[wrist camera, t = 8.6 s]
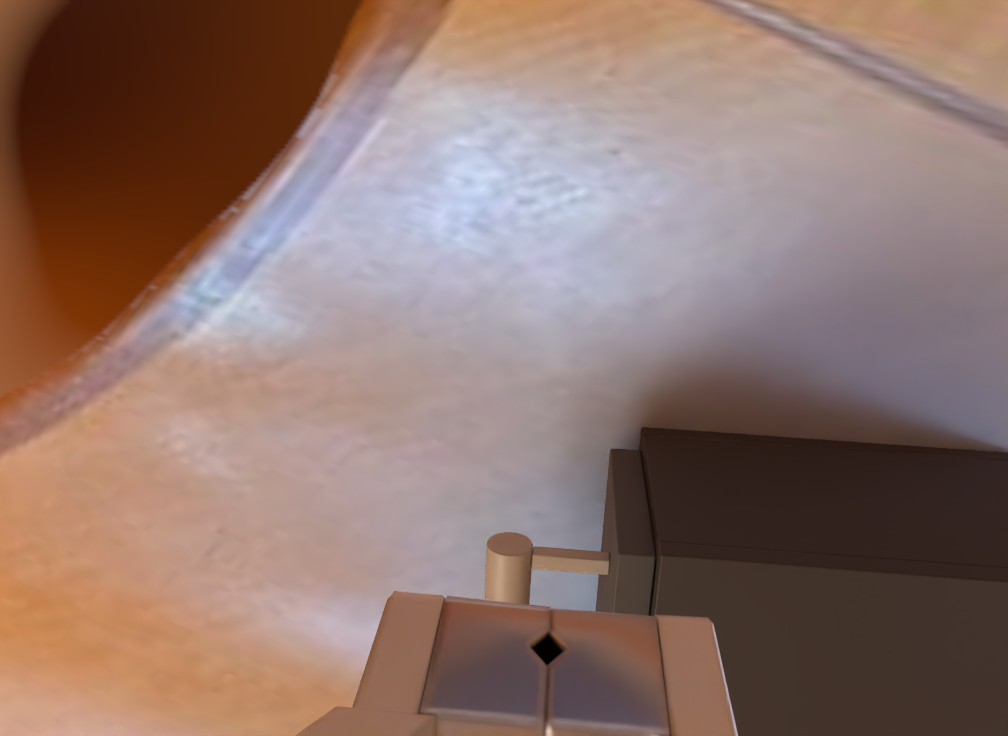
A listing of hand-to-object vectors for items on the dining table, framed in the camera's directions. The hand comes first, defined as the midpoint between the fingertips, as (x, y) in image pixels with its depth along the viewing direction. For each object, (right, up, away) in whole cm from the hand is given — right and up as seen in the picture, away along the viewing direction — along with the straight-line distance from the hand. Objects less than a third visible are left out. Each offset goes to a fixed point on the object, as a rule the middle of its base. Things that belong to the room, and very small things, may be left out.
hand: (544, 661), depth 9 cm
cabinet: (+12, -5, +30) cm, 32 cm away
